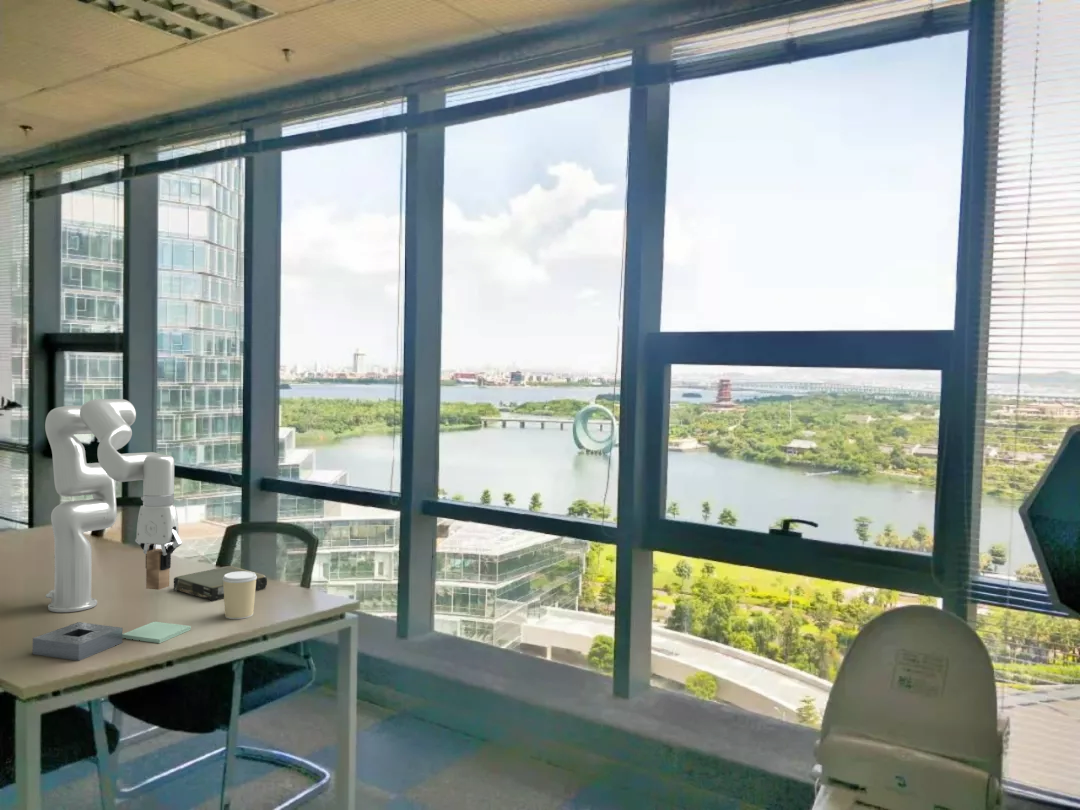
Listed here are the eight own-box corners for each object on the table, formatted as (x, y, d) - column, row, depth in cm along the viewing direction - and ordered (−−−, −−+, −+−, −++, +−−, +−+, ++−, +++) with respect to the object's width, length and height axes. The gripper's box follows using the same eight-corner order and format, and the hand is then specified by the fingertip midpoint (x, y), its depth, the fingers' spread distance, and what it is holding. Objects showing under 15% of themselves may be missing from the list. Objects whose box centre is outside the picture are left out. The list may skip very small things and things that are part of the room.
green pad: (121, 638, 213) (121, 634, 213) (154, 625, 224) (154, 621, 224) (159, 643, 210) (159, 639, 210) (190, 629, 221) (190, 626, 221)
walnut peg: (146, 588, 215) (146, 551, 215) (156, 584, 219) (157, 548, 218) (158, 589, 214) (159, 552, 214) (169, 586, 218) (169, 549, 217)
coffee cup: (260, 610, 240) (261, 571, 240) (250, 620, 231) (250, 579, 231) (228, 610, 240) (229, 570, 240) (217, 619, 231) (218, 578, 230)
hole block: (32, 654, 199) (32, 638, 199) (78, 636, 213) (78, 622, 212) (78, 660, 195) (78, 644, 195) (122, 642, 209) (122, 627, 209)
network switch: (165, 593, 258) (165, 577, 258) (224, 578, 278) (225, 563, 278) (216, 604, 247) (216, 588, 247) (273, 588, 268) (274, 573, 268)
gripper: (122, 501, 214) (121, 569, 215) (175, 504, 210) (174, 574, 210) (143, 497, 221) (142, 563, 222) (194, 500, 217) (193, 568, 218)
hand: (158, 567), depth 216 cm, fingers closed on walnut peg, 4 cm apart
